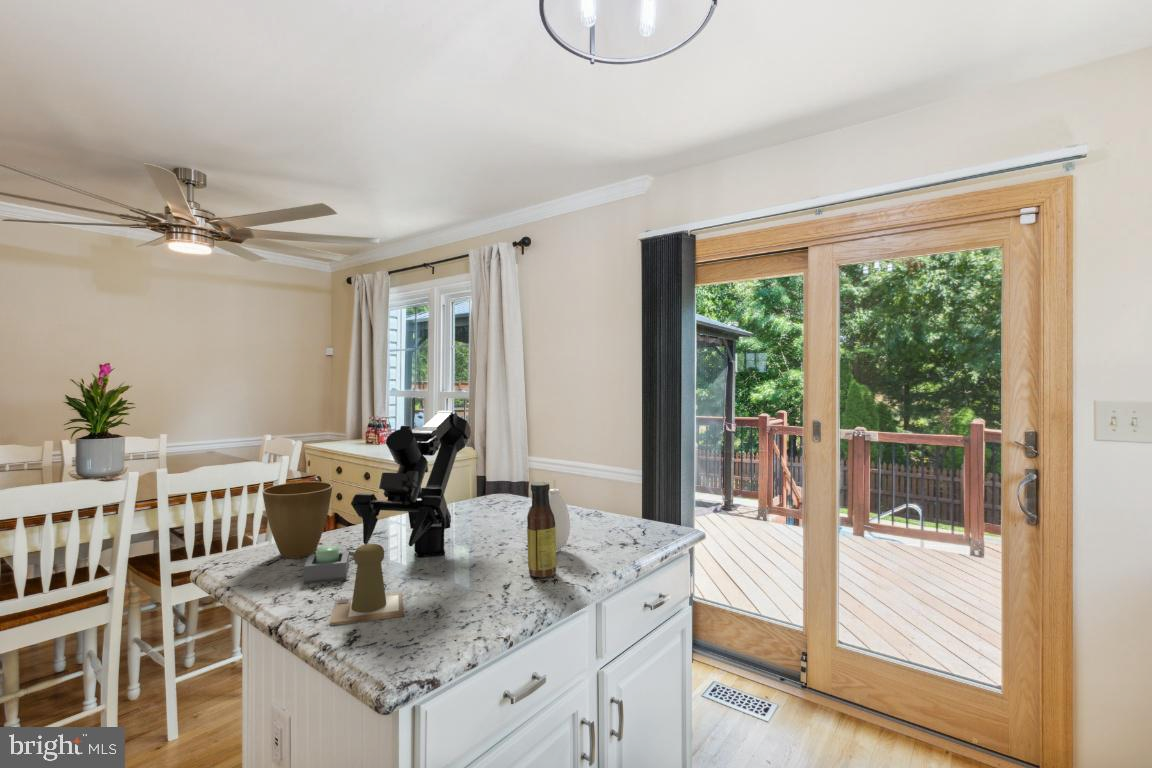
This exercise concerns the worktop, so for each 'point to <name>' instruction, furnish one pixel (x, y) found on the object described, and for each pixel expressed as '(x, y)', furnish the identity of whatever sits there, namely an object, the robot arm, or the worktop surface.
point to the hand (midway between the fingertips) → (387, 544)
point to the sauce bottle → (541, 533)
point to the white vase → (559, 517)
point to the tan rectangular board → (347, 615)
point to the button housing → (326, 569)
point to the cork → (369, 579)
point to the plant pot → (297, 515)
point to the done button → (327, 554)
